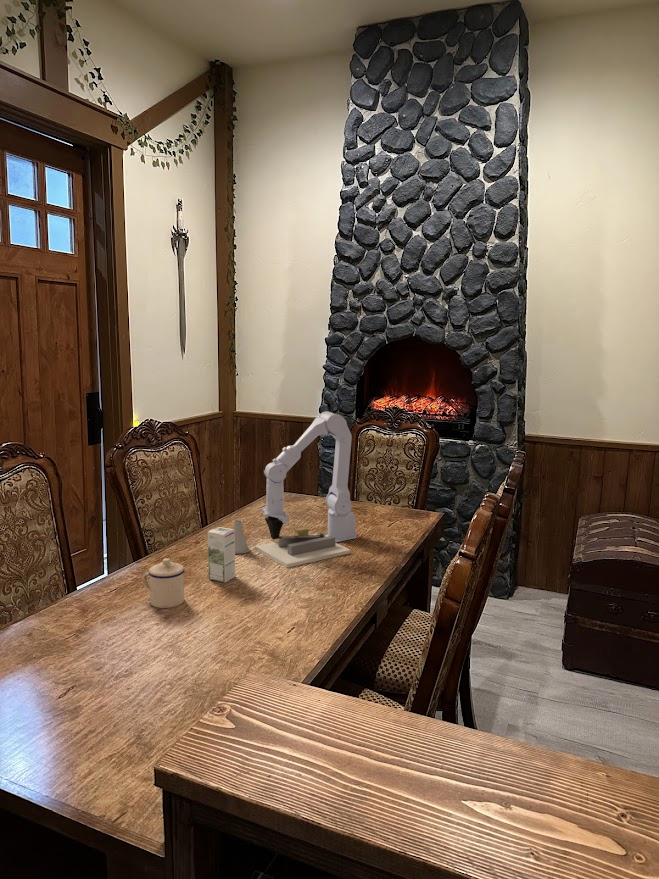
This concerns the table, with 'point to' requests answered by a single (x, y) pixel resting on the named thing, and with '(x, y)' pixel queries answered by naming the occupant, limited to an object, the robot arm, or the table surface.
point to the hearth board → (301, 557)
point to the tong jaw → (296, 539)
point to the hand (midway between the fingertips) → (275, 538)
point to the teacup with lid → (165, 584)
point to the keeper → (300, 531)
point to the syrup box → (221, 554)
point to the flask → (239, 538)
